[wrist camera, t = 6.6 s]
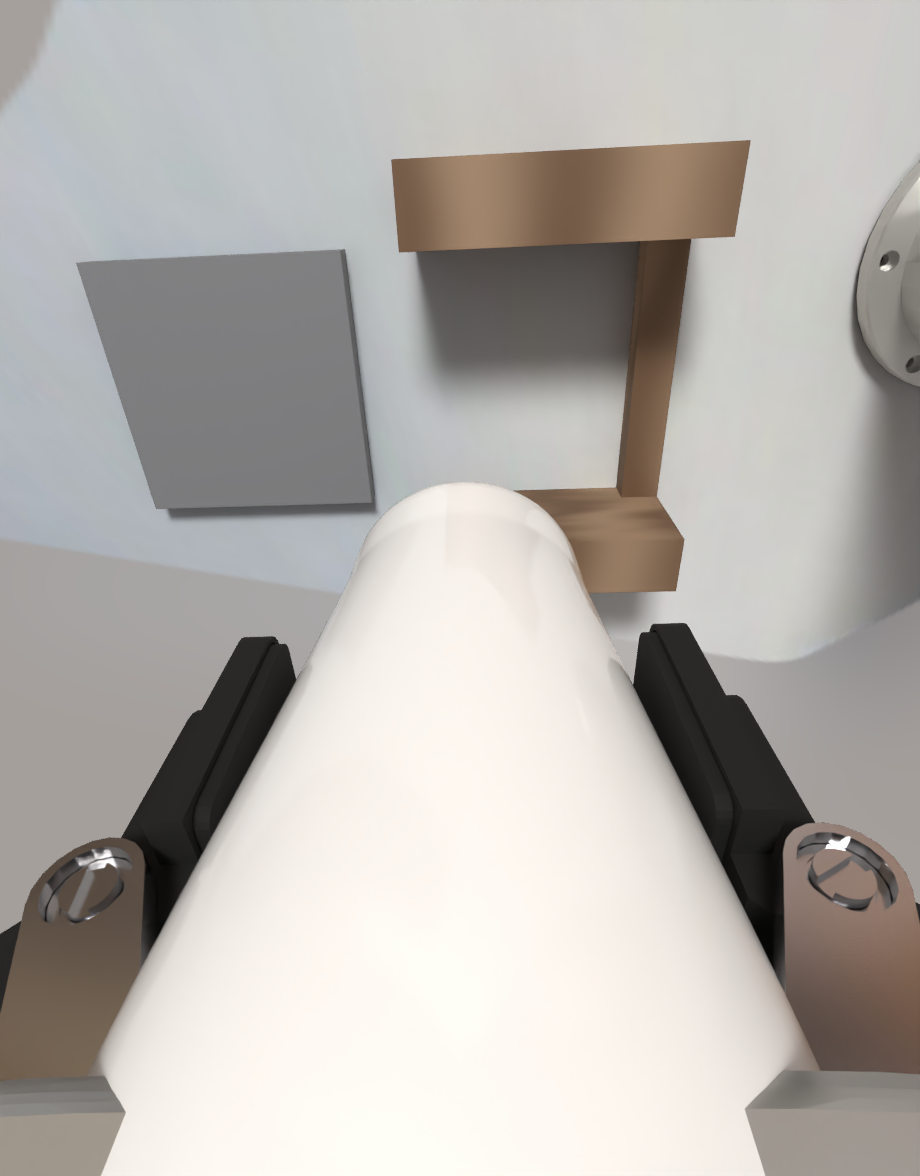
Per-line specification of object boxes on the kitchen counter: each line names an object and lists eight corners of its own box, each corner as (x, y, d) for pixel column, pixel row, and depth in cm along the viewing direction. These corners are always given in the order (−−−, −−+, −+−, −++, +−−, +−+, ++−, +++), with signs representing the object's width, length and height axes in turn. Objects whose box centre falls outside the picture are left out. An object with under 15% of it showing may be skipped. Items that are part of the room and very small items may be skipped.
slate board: (344, 249, 30) (339, 250, 29) (374, 494, 37) (371, 502, 36) (89, 261, 31) (76, 263, 30) (165, 501, 37) (156, 508, 36)
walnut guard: (692, 157, 28) (750, 140, 22) (644, 532, 38) (675, 591, 32) (409, 172, 28) (391, 159, 22) (435, 537, 38) (427, 596, 32)
